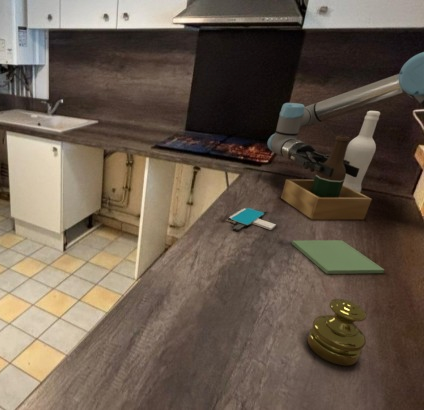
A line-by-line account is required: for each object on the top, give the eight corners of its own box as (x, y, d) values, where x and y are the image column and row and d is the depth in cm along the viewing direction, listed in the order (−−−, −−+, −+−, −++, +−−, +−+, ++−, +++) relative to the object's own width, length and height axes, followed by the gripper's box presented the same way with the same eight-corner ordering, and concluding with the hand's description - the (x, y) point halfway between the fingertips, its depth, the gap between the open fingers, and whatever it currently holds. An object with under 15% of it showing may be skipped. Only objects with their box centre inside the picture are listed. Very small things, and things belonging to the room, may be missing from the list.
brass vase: (346, 374, 57) (368, 326, 53) (298, 345, 63) (315, 299, 59) (364, 354, 61) (385, 307, 57) (317, 328, 67) (334, 284, 63)
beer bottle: (333, 206, 120) (357, 135, 110) (334, 215, 113) (360, 140, 104) (306, 201, 123) (327, 132, 113) (306, 209, 117) (328, 136, 107)
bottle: (336, 198, 127) (365, 112, 115) (328, 190, 134) (354, 108, 122) (362, 201, 125) (394, 114, 113) (352, 192, 132) (381, 110, 120)
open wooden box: (364, 219, 111) (372, 198, 108) (311, 219, 110) (318, 198, 107) (326, 198, 127) (333, 179, 124) (280, 198, 126) (286, 179, 123)
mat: (383, 273, 84) (384, 269, 84) (326, 274, 83) (327, 270, 83) (340, 243, 97) (341, 240, 96) (291, 243, 96) (292, 240, 95)
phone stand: (258, 239, 97) (260, 234, 97) (218, 224, 105) (219, 219, 104) (285, 218, 110) (287, 213, 109) (247, 206, 118) (248, 201, 117)
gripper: (322, 162, 131) (371, 184, 110) (269, 162, 130) (308, 184, 109) (328, 142, 128) (380, 161, 107) (274, 141, 127) (315, 160, 106)
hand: (344, 172), depth 108 cm, fingers closed on beer bottle, 7 cm apart
